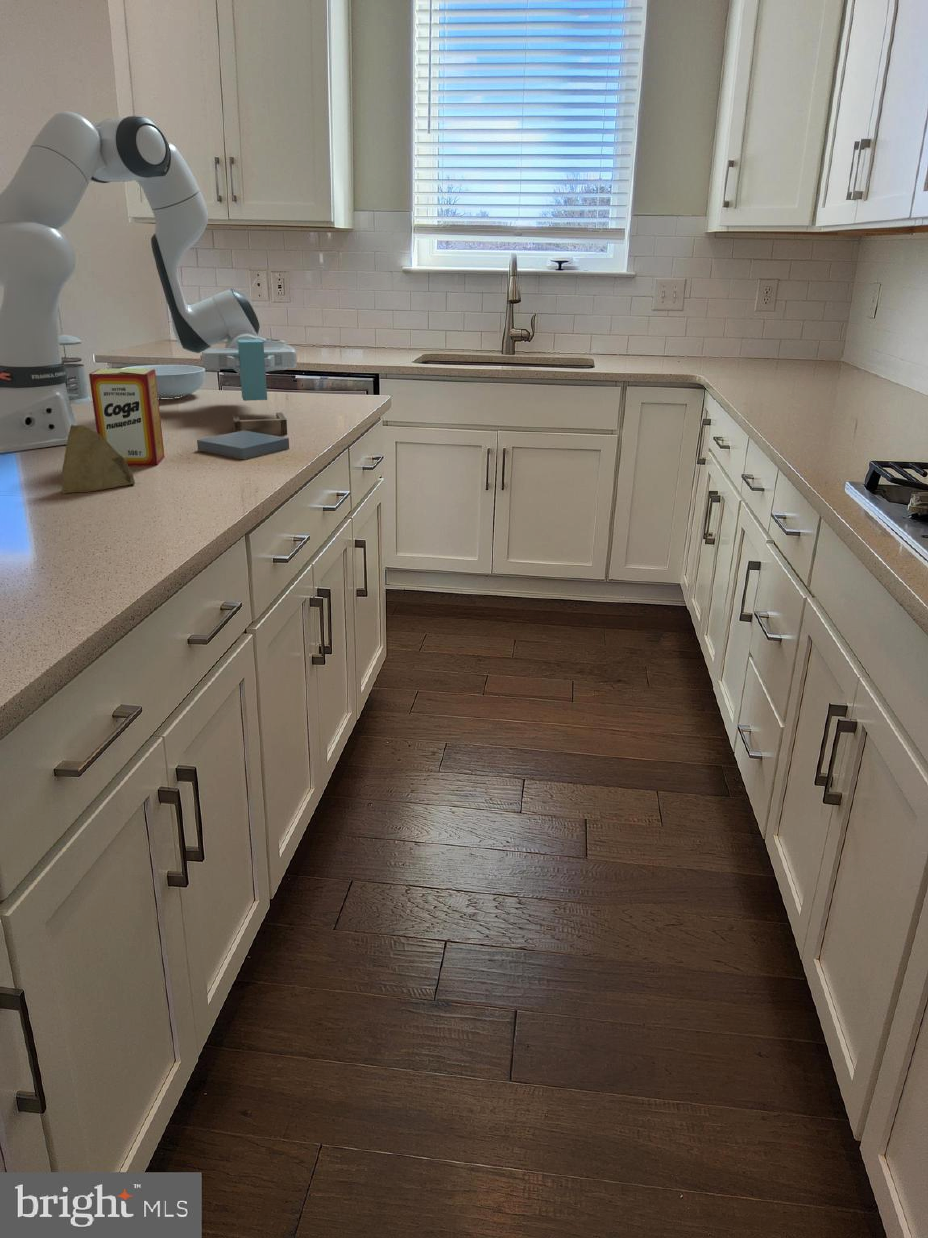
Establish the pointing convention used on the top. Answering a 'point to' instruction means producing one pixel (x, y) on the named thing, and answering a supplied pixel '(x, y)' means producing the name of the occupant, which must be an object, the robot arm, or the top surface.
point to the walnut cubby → (261, 425)
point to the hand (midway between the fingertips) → (252, 362)
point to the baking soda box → (129, 413)
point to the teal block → (252, 369)
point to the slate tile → (243, 444)
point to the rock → (92, 463)
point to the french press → (74, 372)
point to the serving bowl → (176, 379)
